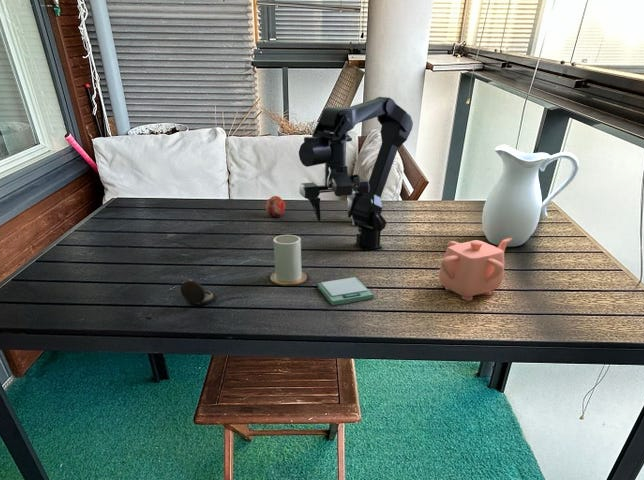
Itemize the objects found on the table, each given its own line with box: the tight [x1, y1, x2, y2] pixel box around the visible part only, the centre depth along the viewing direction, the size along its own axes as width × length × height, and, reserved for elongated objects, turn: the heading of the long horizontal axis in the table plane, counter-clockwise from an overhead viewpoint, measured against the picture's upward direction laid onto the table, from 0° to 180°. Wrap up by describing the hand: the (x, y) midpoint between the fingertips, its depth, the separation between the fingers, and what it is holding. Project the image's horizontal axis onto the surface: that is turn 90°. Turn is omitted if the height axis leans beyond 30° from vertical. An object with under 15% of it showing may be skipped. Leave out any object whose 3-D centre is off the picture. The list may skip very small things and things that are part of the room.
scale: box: [317, 276, 374, 306], centre depth 125 cm, size 11×11×2 cm
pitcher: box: [481, 144, 580, 248], centre depth 147 cm, size 24×17×28 cm
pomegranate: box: [265, 195, 286, 218], centre depth 178 cm, size 7×7×10 cm
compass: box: [180, 278, 215, 306], centre depth 120 cm, size 8×8×7 cm
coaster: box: [270, 271, 308, 287], centre depth 133 cm, size 10×10×1 cm
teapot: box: [438, 238, 512, 301], centre depth 122 cm, size 17×16×13 cm
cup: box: [272, 234, 303, 282], centre depth 130 cm, size 7×7×11 cm
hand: (334, 219), depth 138 cm, fingers open, 9 cm apart
